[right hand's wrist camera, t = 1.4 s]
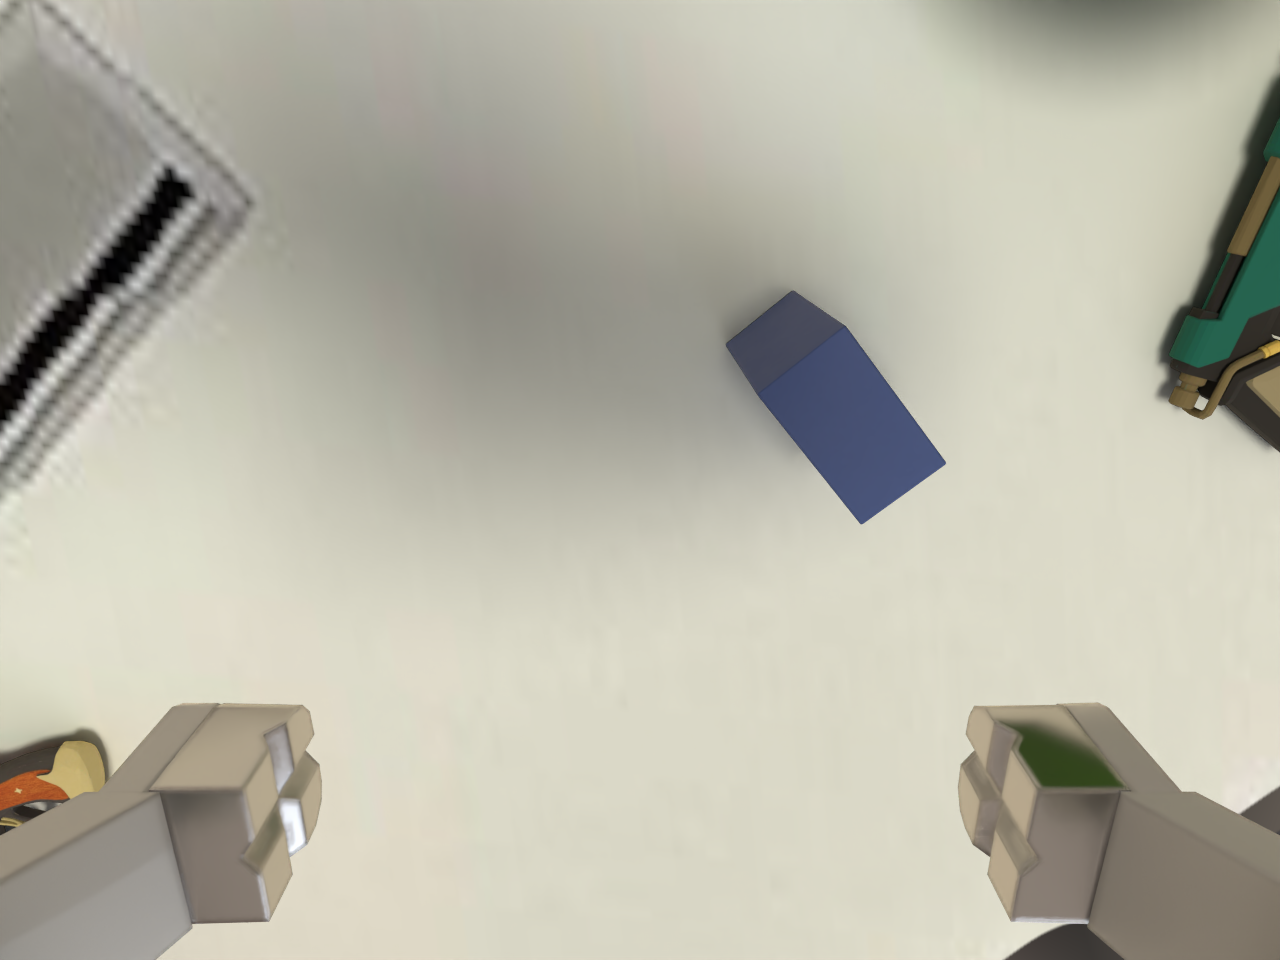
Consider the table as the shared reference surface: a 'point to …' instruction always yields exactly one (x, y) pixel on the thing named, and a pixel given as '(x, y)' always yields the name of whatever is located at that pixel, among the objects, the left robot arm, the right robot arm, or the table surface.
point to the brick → (834, 405)
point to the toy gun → (47, 779)
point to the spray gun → (1240, 320)
